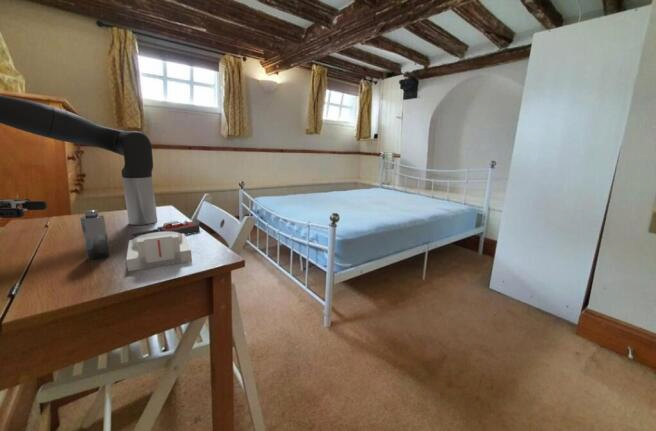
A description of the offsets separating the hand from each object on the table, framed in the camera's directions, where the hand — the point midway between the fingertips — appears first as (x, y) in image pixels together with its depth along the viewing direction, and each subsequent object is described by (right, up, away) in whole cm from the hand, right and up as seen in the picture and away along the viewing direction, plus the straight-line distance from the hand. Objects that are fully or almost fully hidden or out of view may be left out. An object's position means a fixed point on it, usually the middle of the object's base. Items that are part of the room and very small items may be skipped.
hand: (34, 208), depth 71 cm
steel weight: (+11, -13, +7) cm, 18 cm away
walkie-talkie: (+18, -8, +27) cm, 34 cm away
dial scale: (+26, -13, +9) cm, 30 cm away
